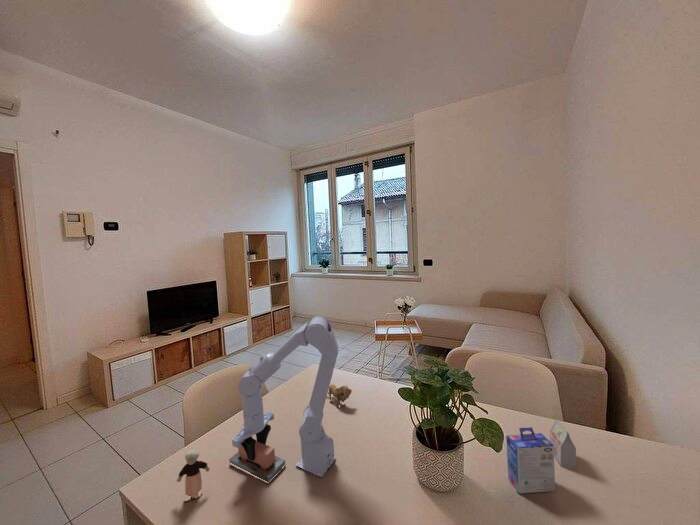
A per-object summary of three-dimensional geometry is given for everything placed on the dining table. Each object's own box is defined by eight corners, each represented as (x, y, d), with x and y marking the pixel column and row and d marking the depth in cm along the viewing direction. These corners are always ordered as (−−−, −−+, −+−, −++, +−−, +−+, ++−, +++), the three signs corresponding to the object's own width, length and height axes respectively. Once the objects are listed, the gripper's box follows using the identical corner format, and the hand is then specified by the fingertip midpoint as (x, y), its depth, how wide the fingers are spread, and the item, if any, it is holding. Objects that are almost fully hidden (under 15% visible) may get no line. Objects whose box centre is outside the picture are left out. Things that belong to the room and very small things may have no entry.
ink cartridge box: (541, 474, 78) (541, 423, 77) (556, 491, 72) (556, 437, 71) (505, 476, 78) (505, 426, 77) (518, 494, 72) (517, 440, 71)
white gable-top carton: (564, 451, 86) (564, 419, 85) (575, 468, 79) (576, 434, 79) (550, 449, 87) (550, 418, 86) (560, 466, 80) (560, 432, 80)
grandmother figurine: (179, 508, 73) (175, 461, 72) (178, 498, 76) (174, 453, 75) (212, 492, 77) (208, 447, 76) (209, 482, 80) (206, 440, 80)
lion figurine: (354, 406, 115) (353, 385, 114) (345, 412, 111) (344, 390, 110) (329, 394, 125) (328, 374, 124) (320, 399, 121) (319, 379, 120)
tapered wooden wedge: (275, 469, 84) (274, 448, 84) (268, 476, 82) (266, 454, 81) (247, 456, 90) (245, 436, 90) (239, 463, 87) (237, 442, 87)
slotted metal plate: (285, 466, 85) (285, 459, 85) (268, 484, 79) (268, 477, 79) (247, 450, 93) (247, 444, 93) (229, 465, 87) (229, 459, 86)
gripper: (261, 396, 93) (264, 436, 94) (223, 421, 80) (227, 467, 81) (277, 401, 90) (280, 442, 91) (240, 428, 77) (244, 475, 78)
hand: (256, 454), depth 86 cm, fingers open, 3 cm apart
